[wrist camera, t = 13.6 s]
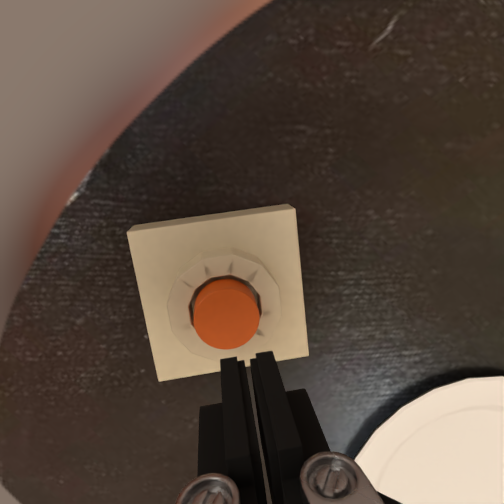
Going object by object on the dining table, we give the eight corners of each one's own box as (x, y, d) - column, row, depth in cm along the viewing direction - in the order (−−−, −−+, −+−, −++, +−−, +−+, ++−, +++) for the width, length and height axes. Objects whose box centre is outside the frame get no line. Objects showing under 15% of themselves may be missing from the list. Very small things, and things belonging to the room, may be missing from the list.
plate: (582, 511, 35) (600, 529, 34) (376, 601, 35) (385, 623, 33) (546, 325, 30) (565, 335, 28) (299, 431, 29) (305, 447, 28)
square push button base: (133, 225, 24) (119, 238, 20) (288, 203, 25) (302, 212, 21) (162, 364, 27) (154, 399, 23) (301, 340, 27) (316, 371, 24)
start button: (189, 283, 22) (188, 294, 20) (252, 274, 22) (255, 283, 20) (199, 340, 23) (199, 355, 21) (259, 330, 23) (263, 344, 21)
